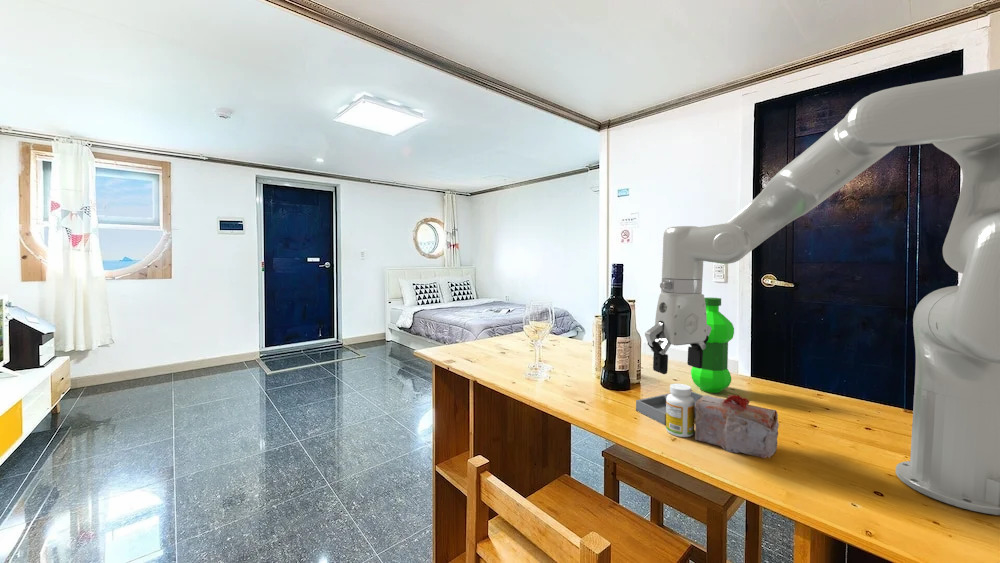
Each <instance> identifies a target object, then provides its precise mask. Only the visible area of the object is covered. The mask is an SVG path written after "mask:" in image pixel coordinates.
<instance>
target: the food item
mask: <svg viewBox="0 0 1000 563" xmlns="http://www.w3.org/2000/svg"><path fill="white" fill-rule="evenodd" d="M695 408H696V418H695V420H694V428H695V429H694V439H695V441H699V442H704V443H707V444H709V445H713V446H717V447H721V448H722V449H723V450H724V451H726V452H729V453H736V454H738V453H743V454H745V455H749V456H754V457H756V458H761V459H766V458H771V456H774V454H775V453H776V452H777V449H778V437H779V430H778V429H779V425H780V423H779V420H778V419H779V418H778V417H779V414H778V411H777V409H771V408H770V409H769V408H766V407H761V406H757V405H751V404H750V400H749V399H747V398H746V397H742V396H741V395H738V394H737V395H736V394H730V395H729V394H728V395H727V398H726V399H725V398H721V397H715V396H711V395H703V396H702V397H700V398H699V399H698V400H697V402H696V406H695Z"/></svg>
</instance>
